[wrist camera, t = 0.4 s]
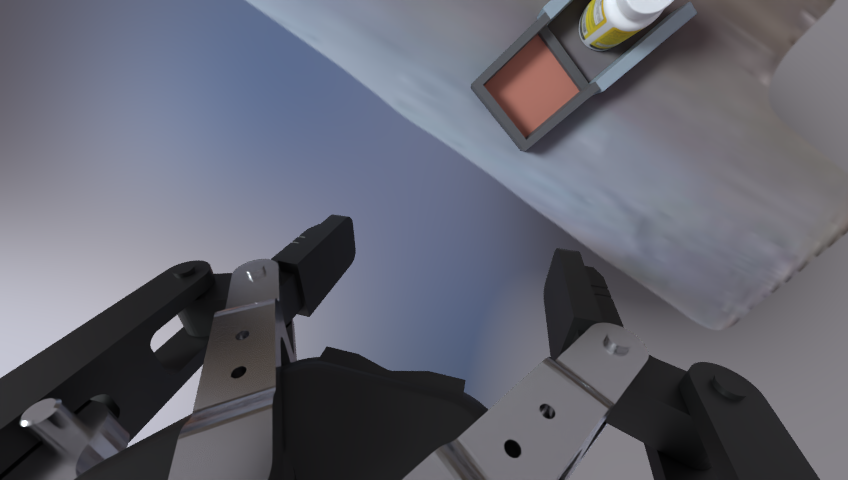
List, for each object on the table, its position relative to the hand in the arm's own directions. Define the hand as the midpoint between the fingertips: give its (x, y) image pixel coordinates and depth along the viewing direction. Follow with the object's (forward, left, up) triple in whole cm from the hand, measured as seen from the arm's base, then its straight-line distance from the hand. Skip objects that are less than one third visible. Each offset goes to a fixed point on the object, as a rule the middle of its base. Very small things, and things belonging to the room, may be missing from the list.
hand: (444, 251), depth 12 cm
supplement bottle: (-11, +17, -25) cm, 32 cm away
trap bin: (-7, +9, -25) cm, 27 cm away
